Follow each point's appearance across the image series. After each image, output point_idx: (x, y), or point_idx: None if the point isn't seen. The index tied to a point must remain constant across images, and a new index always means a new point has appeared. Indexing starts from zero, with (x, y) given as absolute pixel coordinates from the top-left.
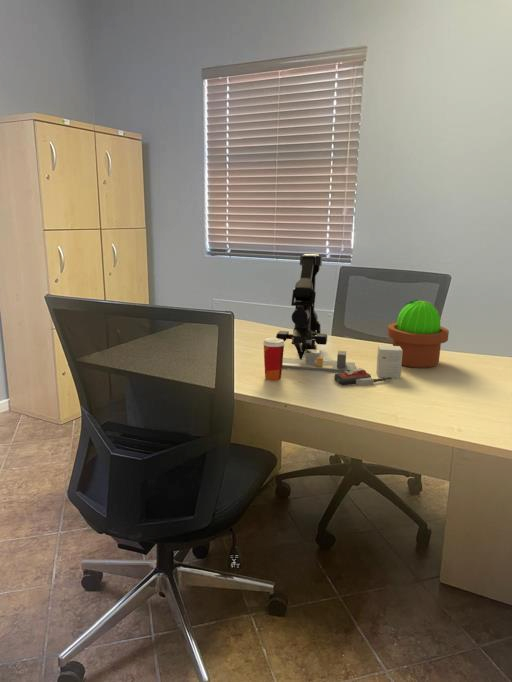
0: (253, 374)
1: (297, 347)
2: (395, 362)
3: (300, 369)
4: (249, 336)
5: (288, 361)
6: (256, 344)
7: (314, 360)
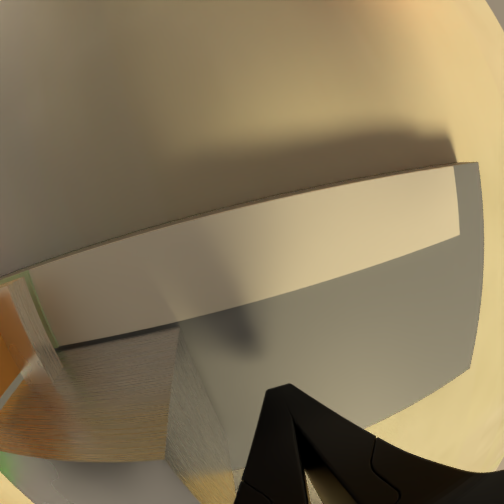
0: (463, 7)
1: (431, 492)
2: None
3: (210, 213)
4: (489, 467)
5: (399, 332)
6: (491, 444)
7: (58, 378)
